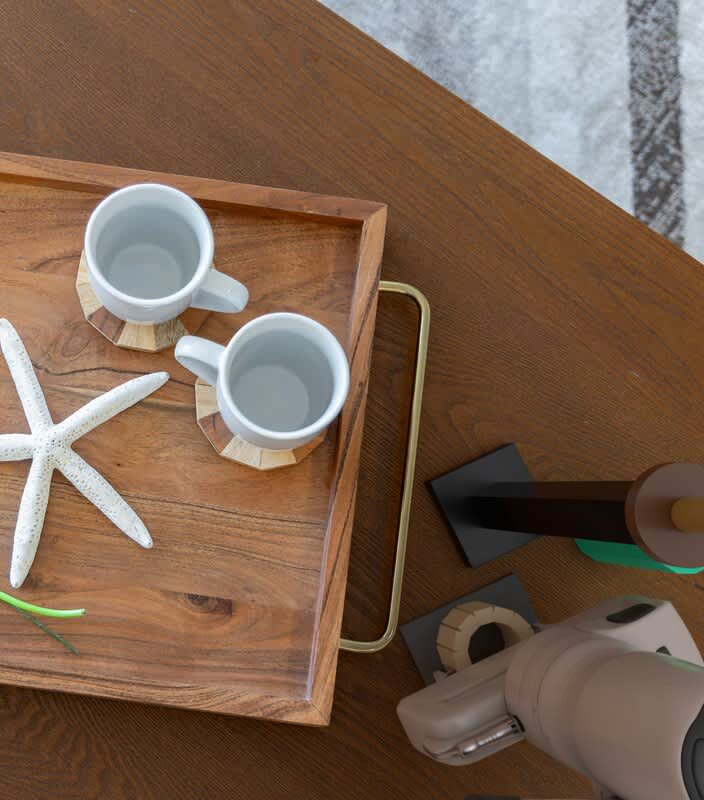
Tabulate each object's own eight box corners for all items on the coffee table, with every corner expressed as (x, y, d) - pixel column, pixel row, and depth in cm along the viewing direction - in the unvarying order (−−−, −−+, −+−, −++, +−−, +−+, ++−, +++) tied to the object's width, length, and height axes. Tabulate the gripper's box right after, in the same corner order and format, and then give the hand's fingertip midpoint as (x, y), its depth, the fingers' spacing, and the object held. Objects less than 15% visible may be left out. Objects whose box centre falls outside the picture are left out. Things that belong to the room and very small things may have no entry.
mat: (567, 681, 74) (570, 682, 74) (450, 737, 74) (453, 739, 73) (512, 571, 75) (516, 572, 74) (397, 626, 75) (399, 627, 74)
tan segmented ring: (528, 671, 74) (550, 680, 70) (452, 694, 73) (469, 705, 70) (502, 591, 74) (522, 597, 71) (426, 615, 74) (442, 621, 71)
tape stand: (548, 528, 75) (857, 556, 45) (465, 567, 75) (719, 623, 44) (506, 443, 76) (781, 414, 45) (423, 481, 76) (644, 479, 45)
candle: (563, 551, 75) (650, 563, 63) (579, 483, 76) (669, 483, 64) (631, 571, 75) (731, 587, 63) (647, 504, 76) (750, 507, 64)
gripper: (463, 809, 58) (393, 746, 72) (734, 676, 59) (613, 639, 73) (421, 720, 59) (359, 675, 72) (690, 589, 60) (578, 569, 73)
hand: (488, 656), depth 73 cm, fingers closed on tan segmented ring, 7 cm apart
